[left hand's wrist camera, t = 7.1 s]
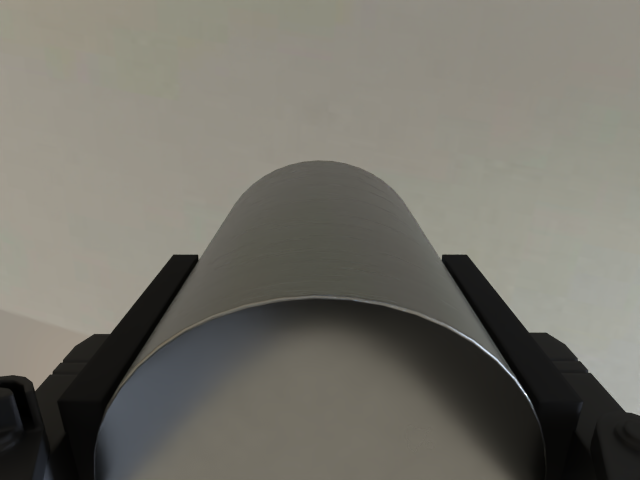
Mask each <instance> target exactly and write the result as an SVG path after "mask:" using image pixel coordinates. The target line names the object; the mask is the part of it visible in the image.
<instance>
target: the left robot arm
mask: <svg viewBox="0 0 640 480" xmlns="http://www.w3.org/2000/svg"><path fill="white" fill-rule="evenodd" d="M198 261H199V260H198V255H173V256H172V257H171V259H170V260H169V261H168V262H167V264H166V265H165V266H164V267H163V269H162V270H161V271H160V272H159V274H158V275H157V276H156V277H155V279H154V280H153V281H152V282H151V284H150V285H149V286H148V287H147V289H146V290H145V291H144V292H143V294H142V295H141V296H140V297H139V299H138V300H137V301H136V302H135V304H134V305H133V306H132V308H131V309H130V310H129V311H128V313H127V314H126V315H125V316H124V318H123V319H122V320H121V321H120V323H119V324H118V325H117V326H116V328H115V329H114V330H113V331H112V333H111V334H94V335H92V336H91V337H89V338H87V339H86V340H84V341H83V342H81V343H80V344H78V345H76V346H75V347H74V348H73V349H72V351H71V352H70V353H69V354H68V355H67V356H66V357H65V358H64V360H63V363H60V364H59V365H58V366H57V367H56V369H55V370H54V371H53V374H52V375H49V376H48V378H47V379H46V380H45V381H44V382H43V383H42V384H41V385H40V387H39V388H38V389H37V390H36V391H35V390H34V387H33V383H32V382H31V381H30V380H29V379H27V378H26V377H21V376H15V375H11V376H2V377H0V480H94V449H95V444H96V438H97V432H98V428H99V426H100V423H101V420H102V417H103V415H104V412H105V409H106V407H107V405H108V403H109V402H110V400H111V398H112V396H113V395H114V393H115V391H116V389H117V388H118V386H119V384H120V383H121V381H122V380H123V378H124V377H125V375H126V373H127V372H128V370H129V369H130V367H131V366H132V364H133V363H134V361H135V359H136V358H137V356H138V355H139V353H140V352H141V350H142V348H143V347H144V345H145V344H146V342H147V341H148V339H149V337H150V336H151V334H152V333H153V331H154V330H155V328H156V327H157V325H158V323H159V322H160V320H161V319H162V317H163V316H164V314H165V312H166V311H167V309H168V308H169V306H170V305H171V303H172V302H173V300H174V298H175V297H176V295H177V294H178V292H179V291H180V289H181V287H182V286H183V284H184V283H185V281H186V280H187V278H188V277H189V275H190V273H191V272H192V270H193V269H194V267H195V266H196V264H197V262H198ZM442 262H443V264H444V265H445V267H446V268H447V270H448V271H449V273H450V275H451V276H452V278H453V279H454V281H455V282H456V284H457V286H458V287H459V289H460V290H461V292H462V293H463V295H464V297H465V298H466V300H467V301H468V303H469V304H470V306H471V307H472V309H473V311H474V312H475V314H476V315H477V317H478V318H479V320H480V322H481V323H482V325H483V326H484V328H485V329H486V331H487V333H488V334H489V336H490V337H491V339H492V340H493V342H494V343H495V345H496V347H497V348H498V350H499V351H500V353H501V354H502V356H503V358H504V359H505V361H506V362H507V364H508V365H509V367H510V369H511V370H512V372H513V373H514V375H515V376H516V378H517V380H518V381H519V383H520V384H521V386H522V387H523V389H524V390H525V392H526V394H527V395H528V397H529V398H530V400H531V402H532V405H533V407H534V409H535V411H536V414H537V416H538V418H539V421H540V424H541V428H542V432H543V436H544V440H545V444H546V460H547V474H546V480H640V416H639V415H636V414H633V413H627V412H625V411H624V410H623V409H622V408H621V406H620V405H619V404H618V403H617V402H616V401H615V400H614V399H613V397H612V396H611V395H610V394H609V393H608V392H607V391H606V390H605V389H604V387H603V386H602V385H601V384H600V383H599V382H598V381H597V380H596V378H595V377H594V376H593V375H592V374H591V373H588V370H587V368H586V367H585V366H584V365H583V364H582V363H581V362H580V361H578V358H577V357H576V356H575V355H574V354H573V353H572V352H571V351H570V349H569V348H568V347H567V346H566V345H565V344H563V343H562V342H560V341H559V340H557V339H555V338H554V337H552V336H551V335H549V334H548V333H529V332H528V331H527V330H526V328H525V327H524V326H523V325H522V323H521V322H520V321H519V320H518V318H517V317H516V316H515V315H514V313H513V312H512V311H511V310H510V308H509V307H508V306H507V305H506V303H505V302H504V301H503V300H502V298H501V297H500V296H499V295H498V293H497V292H496V291H495V290H494V288H493V287H492V286H491V285H490V283H489V282H488V281H487V279H486V278H485V277H484V276H483V274H482V273H481V272H480V271H479V269H478V268H477V267H476V266H475V264H474V263H473V262H472V261H471V259H470V258H469V257H468V256H467V255H442Z"/></svg>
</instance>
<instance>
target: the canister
mask: <svg viewBox="0 0 640 480" xmlns="http://www.w3.org/2000/svg"><path fill="white" fill-rule="evenodd" d="M546 474H547V460H546V444H545V440H544V436H543V432H542V428H541V424H540V421H539V418H538V416H537V414H536V411H535V409H534V407H533V405H532V402H531V400H530V398H529V397H528V395H527V394H526V392H525V390H524V389H523V387H522V386H521V384H520V383H519V381H518V380H517V378H516V376H515V375H514V373H513V372H512V370H511V369H510V367H509V365H508V364H507V362H506V361H505V359H504V358H503V356H502V354H501V353H500V351H499V350H498V348H497V347H496V345H495V343H494V342H493V340H492V339H491V337H490V336H489V334H488V333H487V331H486V329H485V328H484V326H483V325H482V323H481V322H480V320H479V318H478V317H477V315H476V314H475V312H474V311H473V309H472V307H471V306H470V304H469V303H468V301H467V300H466V298H465V297H464V295H463V293H462V292H461V290H460V289H459V287H458V286H457V284H456V282H455V281H454V279H453V278H452V276H451V275H450V273H449V271H448V270H447V268H446V267H445V265H444V264H443V262H442V261H441V259H440V257H439V256H438V254H437V253H436V251H435V250H434V248H433V246H432V245H431V243H430V242H429V240H428V239H427V237H426V235H425V234H424V232H423V231H422V229H421V228H420V226H419V224H418V223H417V221H416V220H415V218H414V217H413V215H412V214H411V212H410V210H409V209H408V207H407V206H406V204H405V203H404V201H403V200H402V199H401V198H400V196H399V195H398V194H397V193H396V192H395V191H394V190H393V189H392V188H391V187H390V186H389V185H387V184H386V183H385V182H384V181H383V180H381V179H379V178H378V177H376V176H375V175H373V174H372V173H369V172H367V171H365V170H363V169H361V168H358V167H355V166H352V165H349V164H345V163H340V162H334V161H307V162H300V163H296V164H291V165H288V166H285V167H282V168H280V169H277V170H275V171H273V172H271V173H269V174H267V175H265V176H264V177H262V178H261V179H260V180H258V181H257V182H255V183H254V184H253V185H252V186H251V187H249V188H248V189H247V190H246V191H245V192H244V193H243V194H242V196H241V197H240V198H239V199H238V201H237V202H236V203H235V205H234V206H233V208H232V209H231V211H230V212H229V214H228V216H227V217H226V219H225V220H224V222H223V223H222V225H221V226H220V228H219V230H218V231H217V233H216V234H215V236H214V237H213V239H212V241H211V242H210V244H209V245H208V247H207V248H206V250H205V252H204V253H203V255H202V256H201V258H200V259H199V261H198V262H197V264H196V266H195V267H194V269H193V270H192V272H191V273H190V275H189V277H188V278H187V280H186V281H185V283H184V284H183V286H182V287H181V289H180V291H179V292H178V294H177V295H176V297H175V298H174V300H173V302H172V303H171V305H170V306H169V308H168V309H167V311H166V312H165V314H164V316H163V317H162V319H161V320H160V322H159V323H158V325H157V327H156V328H155V330H154V331H153V333H152V334H151V336H150V337H149V339H148V341H147V342H146V344H145V345H144V347H143V348H142V350H141V352H140V353H139V355H138V356H137V358H136V359H135V361H134V363H133V364H132V366H131V367H130V369H129V370H128V372H127V373H126V375H125V377H124V378H123V380H122V381H121V383H120V384H119V386H118V388H117V389H116V391H115V393H114V395H113V396H112V398H111V400H110V402H109V403H108V405H107V407H106V409H105V412H104V415H103V417H102V420H101V423H100V426H99V428H98V432H97V438H96V444H95V449H94V480H546Z"/></svg>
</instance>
